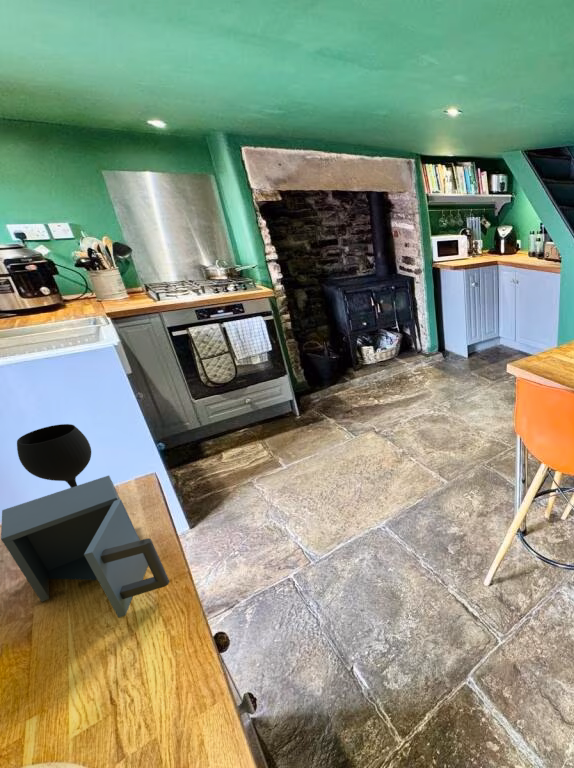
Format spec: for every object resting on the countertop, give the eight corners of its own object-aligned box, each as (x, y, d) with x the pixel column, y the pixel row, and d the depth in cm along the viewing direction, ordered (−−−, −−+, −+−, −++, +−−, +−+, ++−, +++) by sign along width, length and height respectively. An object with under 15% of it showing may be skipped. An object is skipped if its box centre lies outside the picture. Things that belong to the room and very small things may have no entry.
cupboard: (146, 560, 81) (116, 497, 75) (44, 607, 72) (0, 539, 65) (137, 535, 87) (109, 475, 81) (42, 575, 78) (1, 510, 71)
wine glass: (78, 525, 90) (37, 449, 81) (39, 519, 91) (-5, 444, 83) (125, 495, 99) (93, 424, 91) (90, 490, 100) (55, 420, 92)
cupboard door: (188, 550, 84) (163, 489, 77) (173, 605, 72) (143, 538, 66) (143, 563, 80) (114, 500, 74) (120, 622, 69) (83, 554, 63)
